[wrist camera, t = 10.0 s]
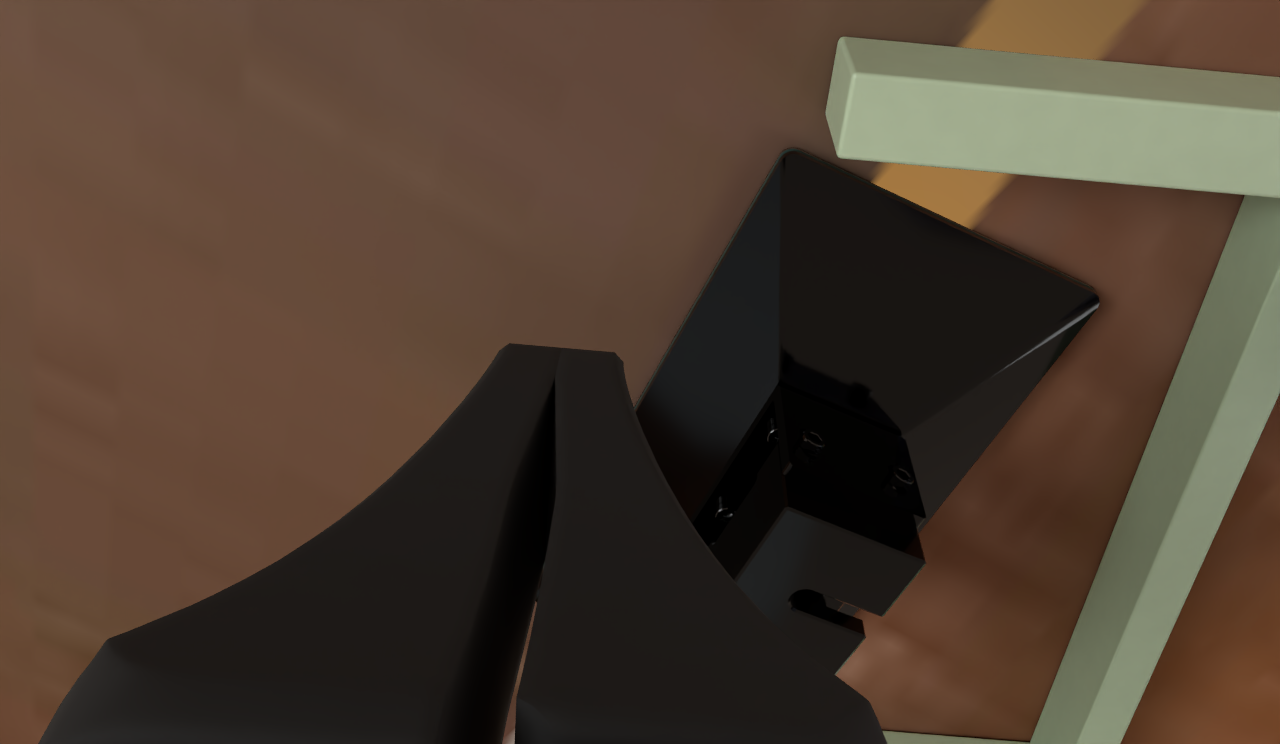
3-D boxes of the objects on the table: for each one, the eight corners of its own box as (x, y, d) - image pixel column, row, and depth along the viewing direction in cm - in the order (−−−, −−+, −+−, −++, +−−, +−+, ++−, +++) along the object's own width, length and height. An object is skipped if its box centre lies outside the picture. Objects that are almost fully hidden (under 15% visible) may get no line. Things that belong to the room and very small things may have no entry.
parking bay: (1345, 82, 21) (1403, 123, 19) (1052, 782, 31) (1073, 849, 30) (838, 34, 21) (852, 72, 19) (710, 755, 31) (712, 821, 29)
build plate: (790, 680, 30) (805, 844, 26) (518, 581, 28) (491, 740, 24) (1101, 289, 23) (1182, 430, 20) (772, 135, 22) (790, 255, 18)
